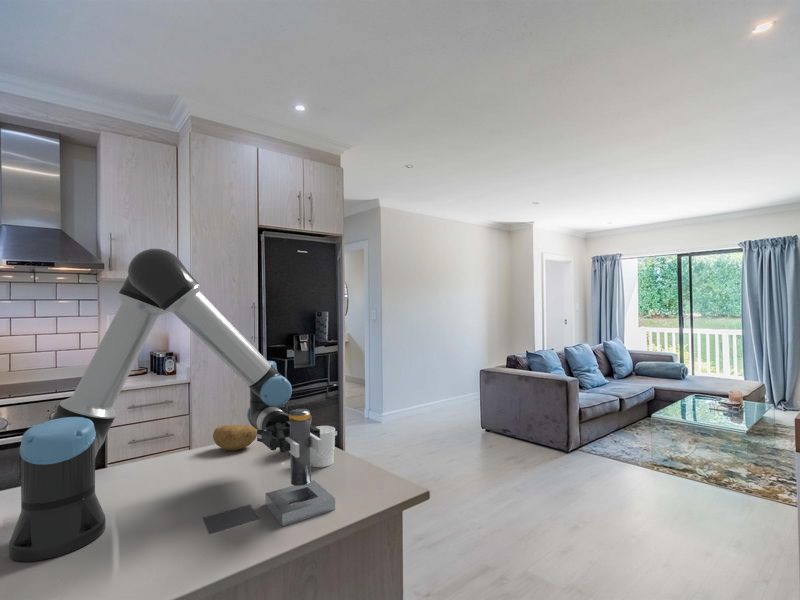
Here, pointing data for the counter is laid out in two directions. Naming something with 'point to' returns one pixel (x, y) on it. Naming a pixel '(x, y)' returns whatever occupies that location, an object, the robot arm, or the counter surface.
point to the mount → (230, 518)
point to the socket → (303, 510)
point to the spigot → (300, 446)
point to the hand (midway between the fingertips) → (308, 448)
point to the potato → (234, 436)
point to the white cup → (324, 448)
